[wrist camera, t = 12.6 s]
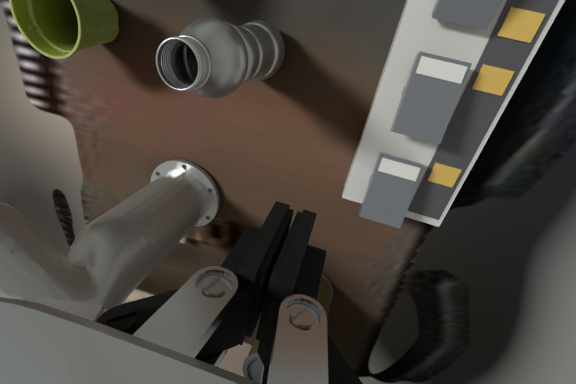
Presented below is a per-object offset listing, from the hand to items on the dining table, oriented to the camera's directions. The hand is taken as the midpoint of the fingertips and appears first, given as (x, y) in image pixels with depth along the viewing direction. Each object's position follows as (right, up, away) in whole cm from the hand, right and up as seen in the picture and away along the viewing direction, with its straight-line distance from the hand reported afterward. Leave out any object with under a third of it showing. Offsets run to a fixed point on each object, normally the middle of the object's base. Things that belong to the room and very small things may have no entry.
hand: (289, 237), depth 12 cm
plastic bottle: (-3, +20, +27) cm, 34 cm away
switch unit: (+17, +14, +24) cm, 33 cm away
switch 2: (+14, +11, +19) cm, 27 cm away
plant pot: (-26, +26, +31) cm, 48 cm away
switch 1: (+12, +2, +25) cm, 28 cm away
